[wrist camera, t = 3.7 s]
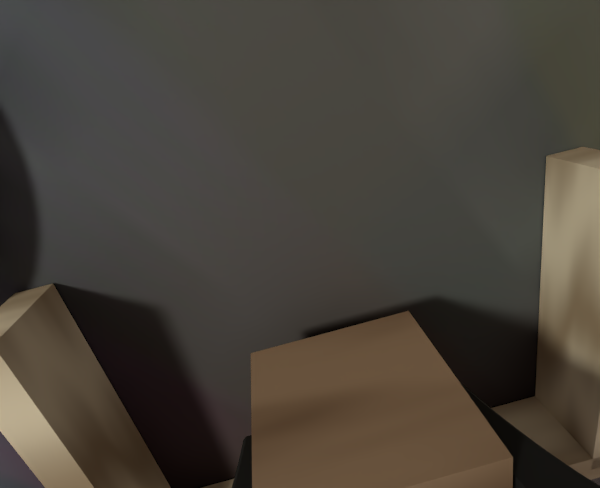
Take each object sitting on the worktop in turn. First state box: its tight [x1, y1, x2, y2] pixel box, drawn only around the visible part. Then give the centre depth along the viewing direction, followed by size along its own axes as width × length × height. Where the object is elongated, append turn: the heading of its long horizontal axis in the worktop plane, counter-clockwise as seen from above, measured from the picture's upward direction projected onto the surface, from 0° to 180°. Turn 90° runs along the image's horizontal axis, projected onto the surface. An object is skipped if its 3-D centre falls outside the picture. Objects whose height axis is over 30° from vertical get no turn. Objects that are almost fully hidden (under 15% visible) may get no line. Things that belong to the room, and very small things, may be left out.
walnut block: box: [251, 311, 513, 488], centre depth 10 cm, size 5×5×5 cm
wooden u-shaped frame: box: [0, 147, 600, 488], centre depth 13 cm, size 12×18×3 cm, turn 103°
